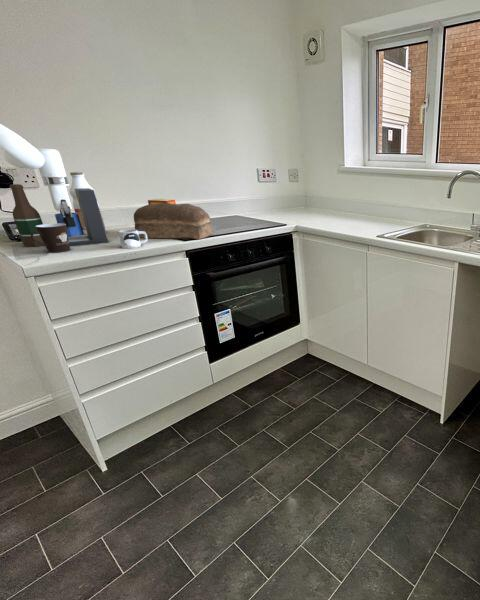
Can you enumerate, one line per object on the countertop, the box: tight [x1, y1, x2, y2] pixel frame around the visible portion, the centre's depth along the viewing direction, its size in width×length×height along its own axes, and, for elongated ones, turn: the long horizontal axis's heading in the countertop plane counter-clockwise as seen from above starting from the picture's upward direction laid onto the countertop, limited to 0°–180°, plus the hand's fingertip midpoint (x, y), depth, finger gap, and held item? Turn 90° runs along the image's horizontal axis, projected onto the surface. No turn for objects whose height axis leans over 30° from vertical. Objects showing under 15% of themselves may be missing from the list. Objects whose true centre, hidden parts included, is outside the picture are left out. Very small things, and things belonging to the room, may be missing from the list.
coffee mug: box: [31, 222, 71, 254], centre depth 135 cm, size 12×9×10 cm
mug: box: [117, 228, 149, 249], centre depth 148 cm, size 10×7×7 cm
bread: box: [133, 203, 214, 240], centre depth 167 cm, size 15×32×16 cm, turn 93°
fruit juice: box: [68, 171, 107, 236], centre depth 165 cm, size 9×9×28 cm
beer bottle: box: [9, 183, 46, 248], centre depth 141 cm, size 8×8×24 cm
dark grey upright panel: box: [68, 188, 109, 247], centre depth 148 cm, size 16×12×22 cm
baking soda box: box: [147, 198, 177, 205], centre depth 179 cm, size 10×6×16 cm
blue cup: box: [54, 212, 85, 238], centre depth 148 cm, size 7×7×9 cm
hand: (69, 225), depth 148 cm, fingers closed on blue cup, 7 cm apart
